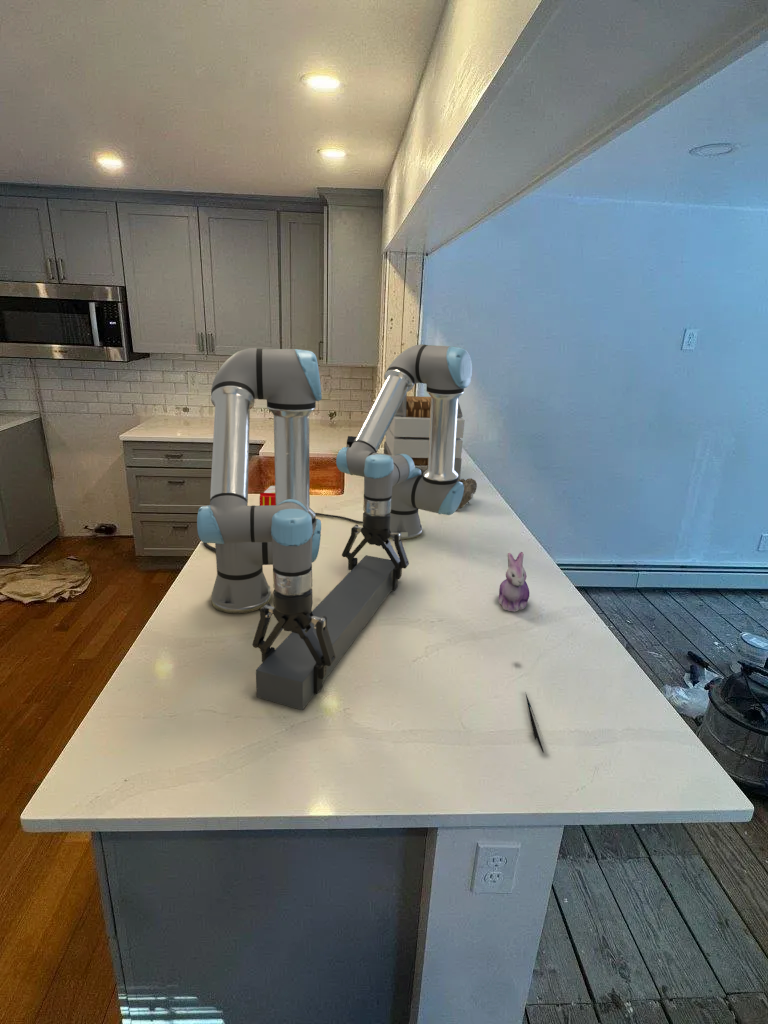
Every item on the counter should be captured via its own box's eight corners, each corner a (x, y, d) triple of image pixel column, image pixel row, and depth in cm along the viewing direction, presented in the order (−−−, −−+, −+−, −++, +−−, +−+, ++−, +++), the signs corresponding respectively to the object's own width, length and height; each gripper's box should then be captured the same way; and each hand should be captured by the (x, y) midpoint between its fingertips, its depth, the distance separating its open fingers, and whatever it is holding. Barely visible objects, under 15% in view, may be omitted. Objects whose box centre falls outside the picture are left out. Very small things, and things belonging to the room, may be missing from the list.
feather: (517, 669, 129) (522, 662, 128) (543, 757, 102) (550, 750, 102) (511, 665, 129) (516, 659, 128) (535, 752, 102) (542, 745, 101)
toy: (300, 481, 221) (289, 494, 192) (300, 514, 224) (289, 533, 194) (268, 480, 221) (253, 493, 191) (269, 514, 223) (254, 532, 194)
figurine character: (358, 457, 303) (358, 448, 316) (358, 444, 299) (359, 435, 313) (345, 457, 302) (346, 447, 316) (345, 443, 299) (347, 434, 313)
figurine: (511, 616, 149) (518, 564, 143) (487, 598, 157) (493, 549, 152) (539, 609, 153) (547, 558, 148) (514, 592, 161) (521, 544, 156)
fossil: (440, 484, 244) (470, 465, 239) (453, 501, 247) (482, 482, 242) (440, 506, 224) (472, 486, 219) (454, 524, 227) (486, 504, 222)
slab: (365, 575, 168) (365, 555, 166) (398, 581, 165) (399, 561, 163) (256, 697, 114) (255, 669, 112) (302, 710, 111) (302, 682, 109)
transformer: (382, 463, 289) (386, 382, 275) (445, 464, 293) (451, 384, 279) (390, 482, 257) (394, 392, 243) (460, 483, 261) (468, 394, 247)
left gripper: (231, 585, 110) (236, 680, 118) (339, 608, 104) (337, 708, 111) (251, 569, 117) (255, 661, 125) (354, 591, 110) (351, 686, 118)
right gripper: (330, 509, 153) (329, 581, 161) (415, 523, 146) (410, 598, 154) (341, 501, 160) (340, 571, 167) (423, 514, 153) (418, 586, 160)
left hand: (294, 683), depth 118 cm, fingers closed on slab, 10 cm apart
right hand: (373, 584), depth 160 cm, fingers open, 12 cm apart
